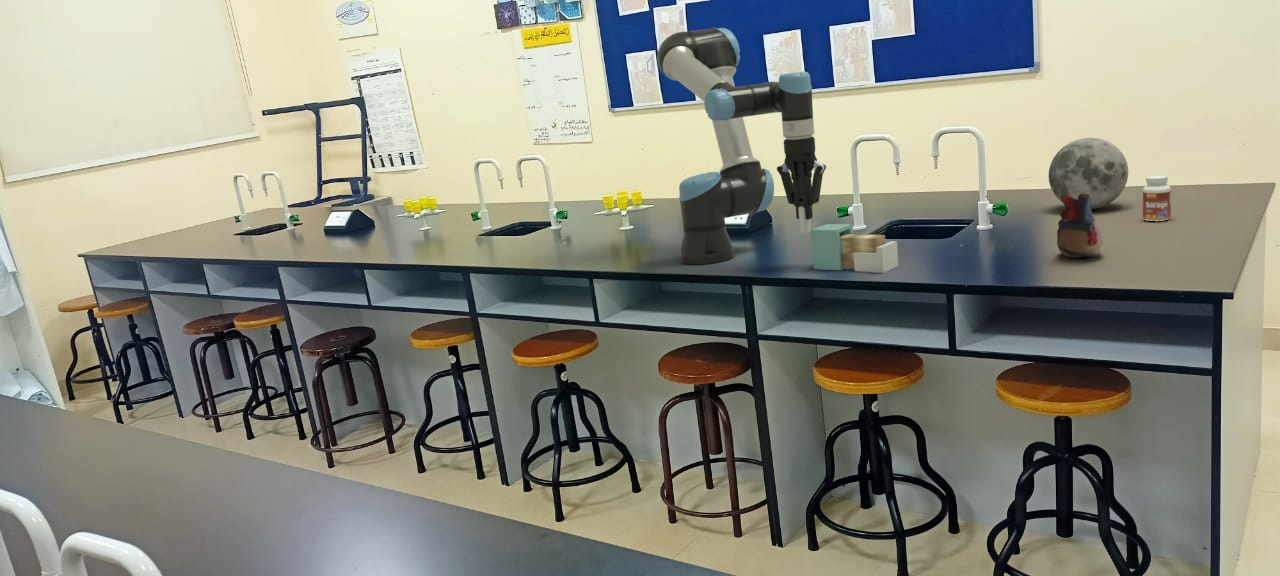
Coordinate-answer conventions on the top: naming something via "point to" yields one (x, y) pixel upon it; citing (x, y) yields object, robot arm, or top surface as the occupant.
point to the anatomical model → (1078, 228)
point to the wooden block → (858, 246)
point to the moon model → (1089, 171)
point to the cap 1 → (828, 245)
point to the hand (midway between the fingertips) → (805, 231)
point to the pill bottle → (1156, 198)
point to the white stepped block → (877, 259)
